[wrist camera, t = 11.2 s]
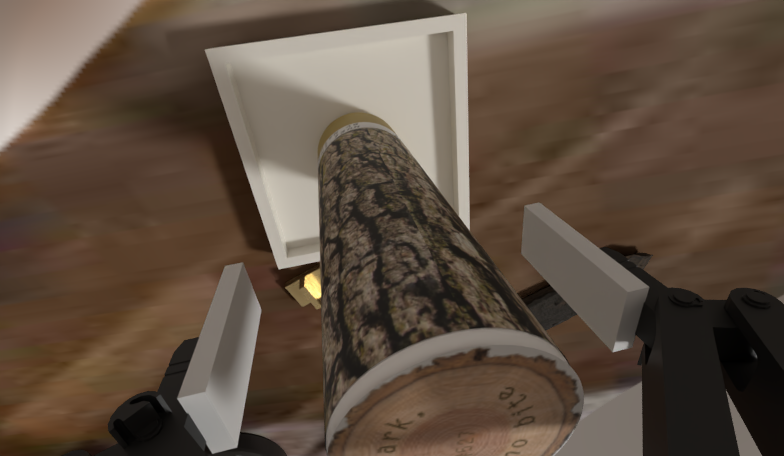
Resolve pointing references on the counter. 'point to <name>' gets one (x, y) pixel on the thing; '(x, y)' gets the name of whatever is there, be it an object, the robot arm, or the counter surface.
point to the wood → (555, 308)
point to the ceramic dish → (343, 112)
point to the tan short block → (306, 287)
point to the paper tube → (423, 318)
